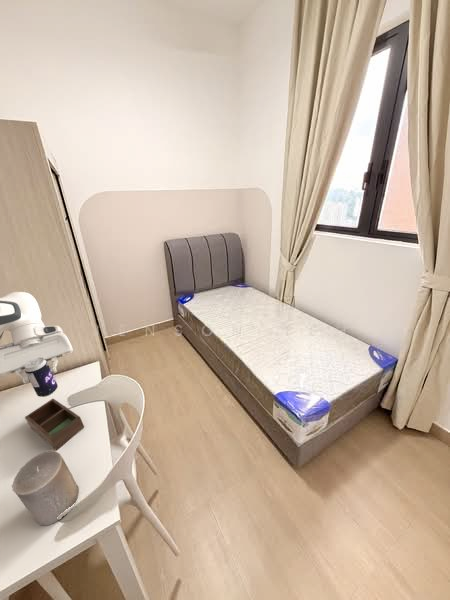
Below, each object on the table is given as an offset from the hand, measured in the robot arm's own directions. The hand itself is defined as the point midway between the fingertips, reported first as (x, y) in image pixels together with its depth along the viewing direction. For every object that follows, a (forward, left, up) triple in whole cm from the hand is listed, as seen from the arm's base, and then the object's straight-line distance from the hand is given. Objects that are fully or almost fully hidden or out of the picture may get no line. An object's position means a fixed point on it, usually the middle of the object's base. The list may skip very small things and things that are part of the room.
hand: (41, 377), depth 74 cm
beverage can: (-1, 0, -7) cm, 7 cm away
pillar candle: (+23, -14, -21) cm, 34 cm away
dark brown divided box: (-1, -2, -21) cm, 21 cm away
